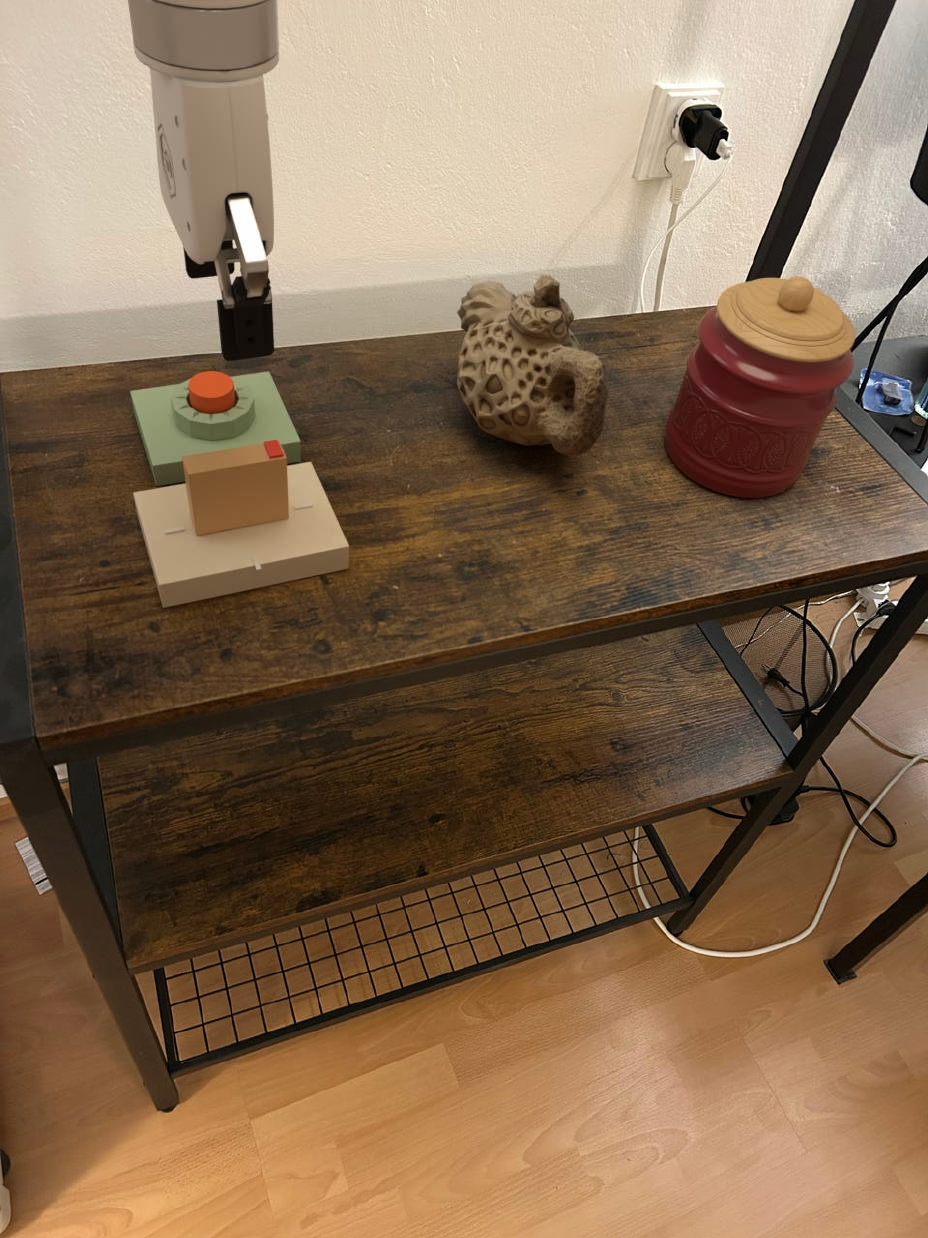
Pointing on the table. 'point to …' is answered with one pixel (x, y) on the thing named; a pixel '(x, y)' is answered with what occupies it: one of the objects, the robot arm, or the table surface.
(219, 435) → the button block
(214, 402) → the button
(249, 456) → the handle
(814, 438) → the kitchen canister
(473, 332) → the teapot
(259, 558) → the panel
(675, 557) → the table surface
